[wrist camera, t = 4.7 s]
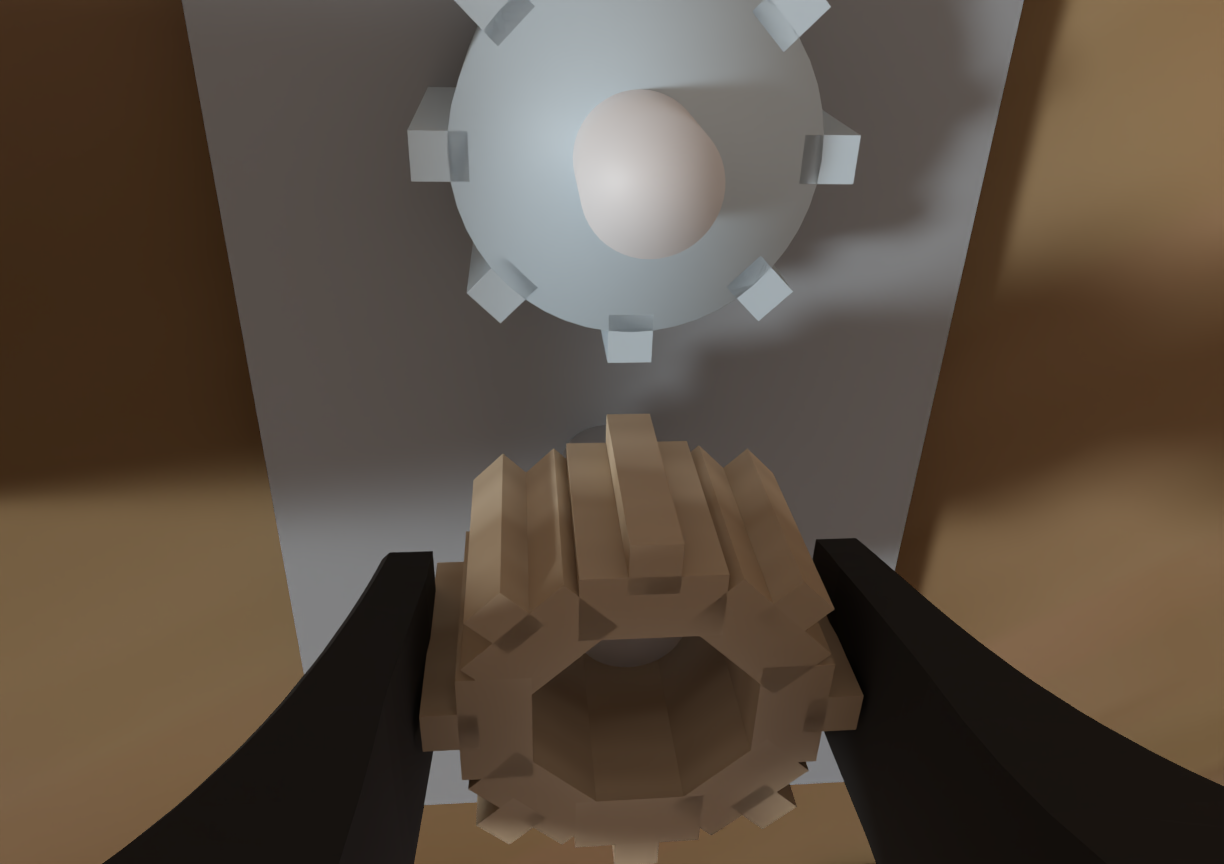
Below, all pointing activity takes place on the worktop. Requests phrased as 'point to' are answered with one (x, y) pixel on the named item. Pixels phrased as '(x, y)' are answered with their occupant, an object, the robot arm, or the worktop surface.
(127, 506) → the worktop surface
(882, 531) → the gear board
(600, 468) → the loose gear
